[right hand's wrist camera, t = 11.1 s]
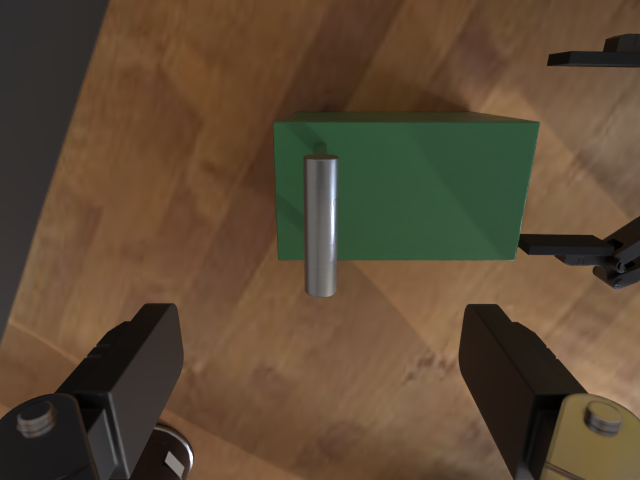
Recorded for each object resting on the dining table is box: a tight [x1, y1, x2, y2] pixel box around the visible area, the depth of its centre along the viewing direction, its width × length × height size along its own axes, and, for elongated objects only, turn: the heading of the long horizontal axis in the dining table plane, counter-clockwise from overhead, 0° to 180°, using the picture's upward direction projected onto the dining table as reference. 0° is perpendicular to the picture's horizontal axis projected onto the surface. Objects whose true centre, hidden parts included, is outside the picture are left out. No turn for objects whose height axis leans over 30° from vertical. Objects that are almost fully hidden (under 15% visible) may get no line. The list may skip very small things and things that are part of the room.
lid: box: [273, 120, 540, 297], centre depth 23 cm, size 16×9×8 cm, turn 90°
